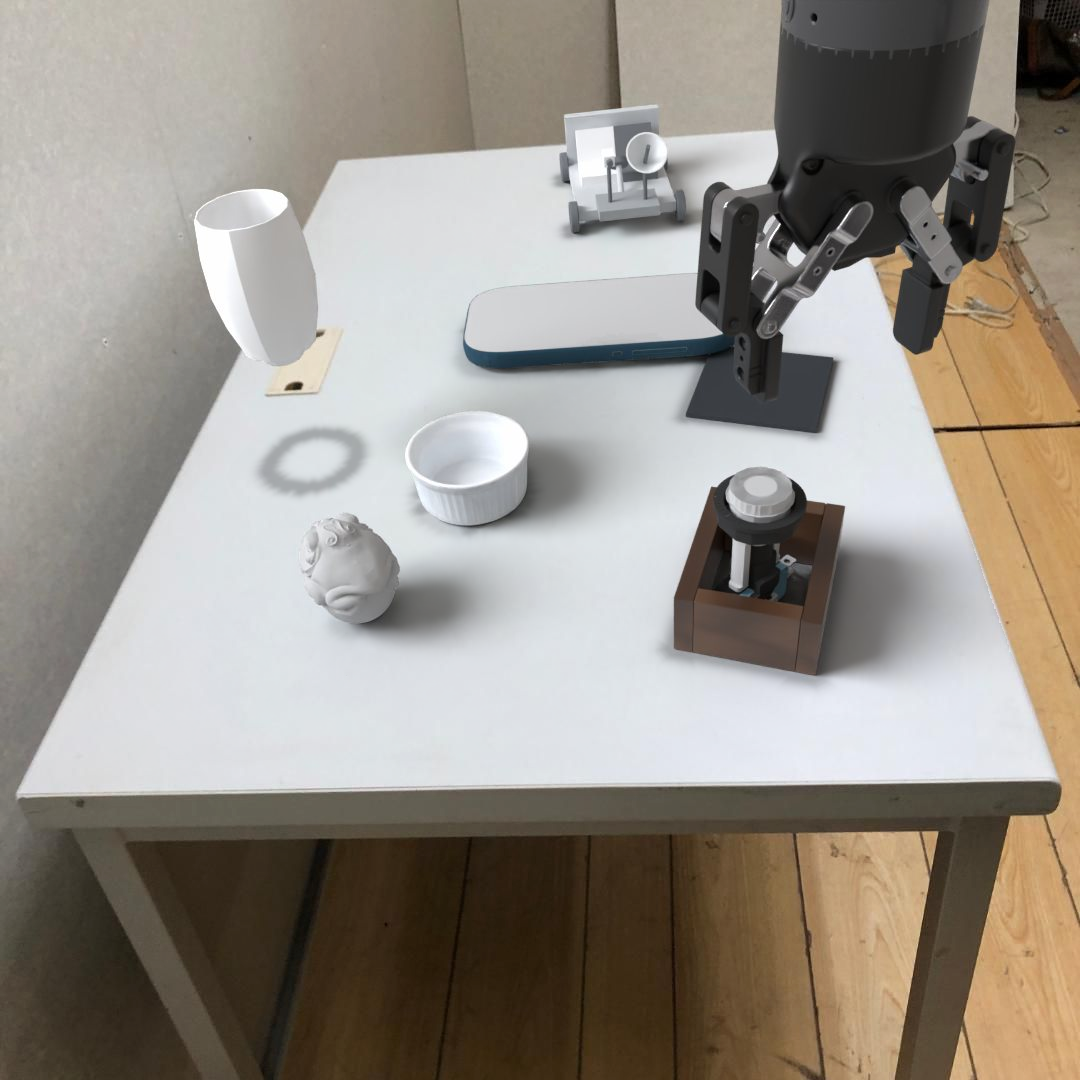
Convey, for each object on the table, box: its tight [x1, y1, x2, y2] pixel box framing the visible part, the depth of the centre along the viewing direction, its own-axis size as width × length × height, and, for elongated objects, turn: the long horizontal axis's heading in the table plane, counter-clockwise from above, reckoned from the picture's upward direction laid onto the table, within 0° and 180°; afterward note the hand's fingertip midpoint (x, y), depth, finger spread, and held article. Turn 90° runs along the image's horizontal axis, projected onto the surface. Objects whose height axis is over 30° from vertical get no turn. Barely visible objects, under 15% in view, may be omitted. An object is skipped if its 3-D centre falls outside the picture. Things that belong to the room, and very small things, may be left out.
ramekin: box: [404, 410, 530, 526], centre depth 77 cm, size 9×9×4 cm
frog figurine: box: [298, 512, 401, 624], centre depth 68 cm, size 6×7×7 cm
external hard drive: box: [462, 272, 735, 369], centre depth 92 cm, size 24×12×2 cm, turn 88°
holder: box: [673, 486, 846, 676], centre depth 66 cm, size 9×11×4 cm
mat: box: [685, 346, 834, 434], centre depth 85 cm, size 10×10×1 cm
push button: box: [713, 466, 808, 602], centre depth 65 cm, size 7×5×10 cm
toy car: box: [559, 103, 687, 233], centre depth 108 cm, size 18×10×12 cm
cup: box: [193, 188, 319, 367], centre depth 76 cm, size 7×7×21 cm
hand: (836, 369), depth 51 cm, fingers open, 8 cm apart
